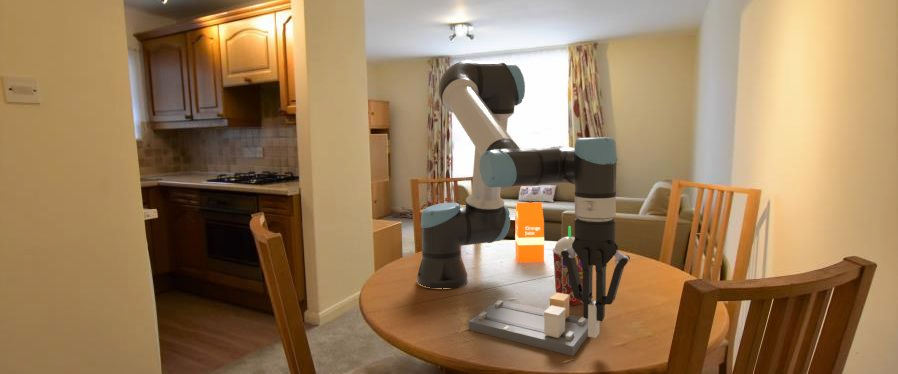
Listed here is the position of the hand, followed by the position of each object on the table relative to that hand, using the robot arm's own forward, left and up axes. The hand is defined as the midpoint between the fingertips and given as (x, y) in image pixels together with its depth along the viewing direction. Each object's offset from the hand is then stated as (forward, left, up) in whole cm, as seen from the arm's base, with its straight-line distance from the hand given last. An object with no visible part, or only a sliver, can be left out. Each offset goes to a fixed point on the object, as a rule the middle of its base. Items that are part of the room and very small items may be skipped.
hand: (593, 334), depth 88 cm
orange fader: (-10, +8, -2) cm, 13 cm away
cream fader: (-8, 0, -2) cm, 8 cm away
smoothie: (-13, +24, -4) cm, 28 cm away
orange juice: (-38, +56, -4) cm, 68 cm away
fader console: (-15, +4, -4) cm, 16 cm away
